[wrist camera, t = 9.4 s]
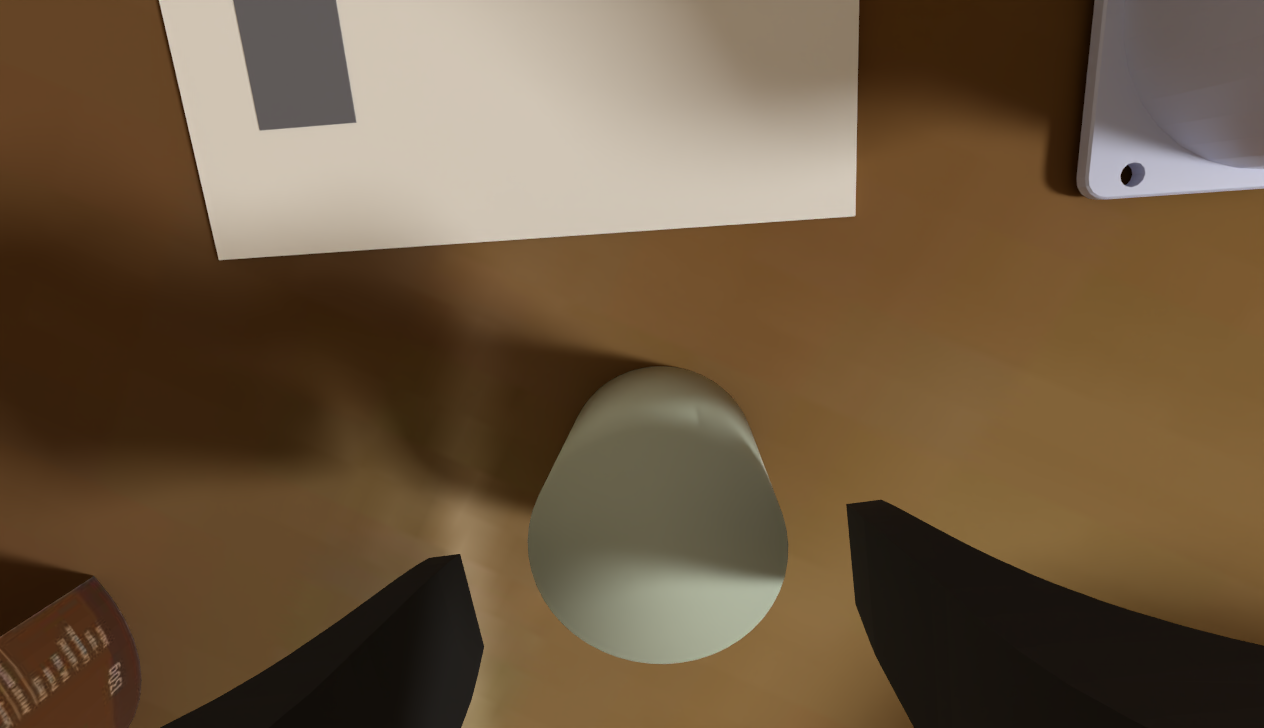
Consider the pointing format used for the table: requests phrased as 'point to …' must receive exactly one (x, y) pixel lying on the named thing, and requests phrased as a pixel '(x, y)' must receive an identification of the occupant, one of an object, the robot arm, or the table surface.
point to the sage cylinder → (659, 521)
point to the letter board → (512, 117)
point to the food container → (70, 665)
